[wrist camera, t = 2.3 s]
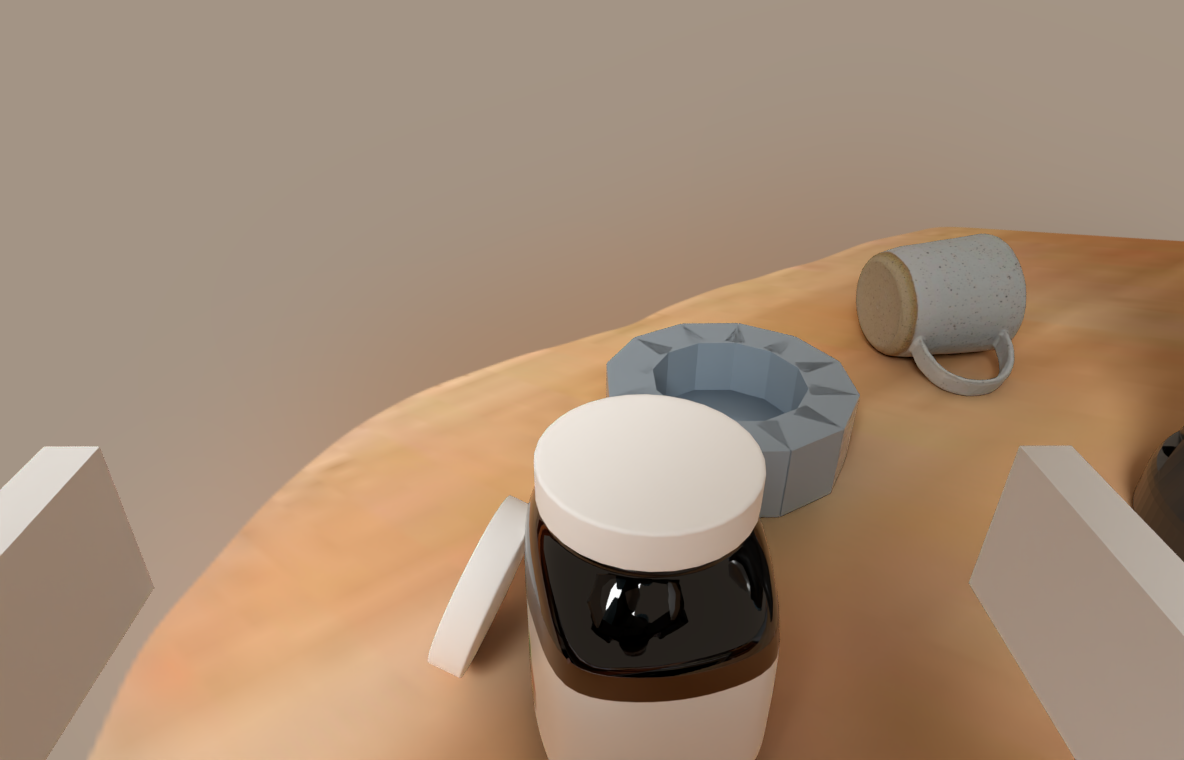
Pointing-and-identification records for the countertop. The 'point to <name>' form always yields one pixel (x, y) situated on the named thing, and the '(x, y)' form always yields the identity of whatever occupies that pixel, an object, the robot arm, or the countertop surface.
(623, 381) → the slate bowl
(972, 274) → the ceramic mug
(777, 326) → the countertop surface
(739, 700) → the spread jar
